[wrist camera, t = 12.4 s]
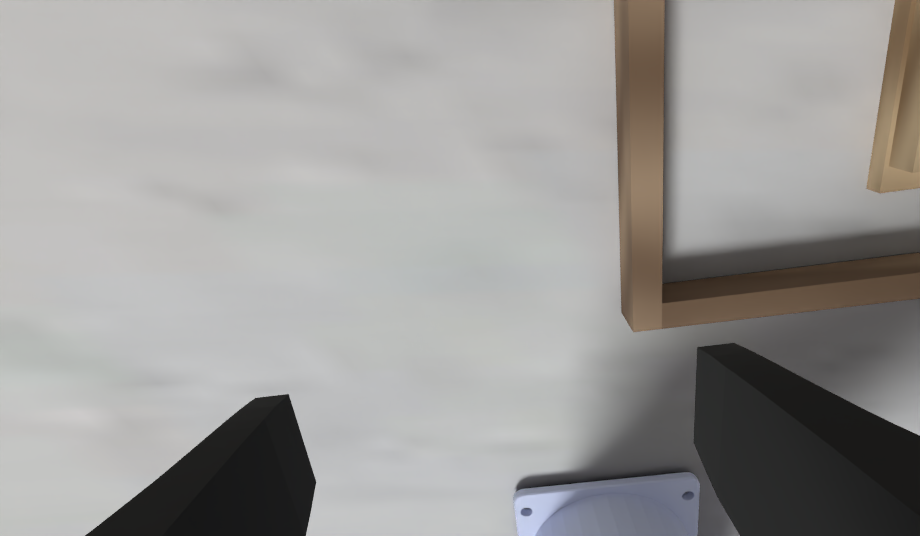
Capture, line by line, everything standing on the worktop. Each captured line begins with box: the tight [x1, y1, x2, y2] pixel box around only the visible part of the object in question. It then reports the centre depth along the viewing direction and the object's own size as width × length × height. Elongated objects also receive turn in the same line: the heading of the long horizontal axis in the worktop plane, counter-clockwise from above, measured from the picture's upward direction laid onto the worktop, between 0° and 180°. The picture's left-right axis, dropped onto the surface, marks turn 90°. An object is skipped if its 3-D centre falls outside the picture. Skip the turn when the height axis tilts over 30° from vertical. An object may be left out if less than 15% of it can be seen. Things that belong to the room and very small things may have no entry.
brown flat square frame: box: [614, 0, 920, 332], centre depth 16 cm, size 16×15×2 cm
